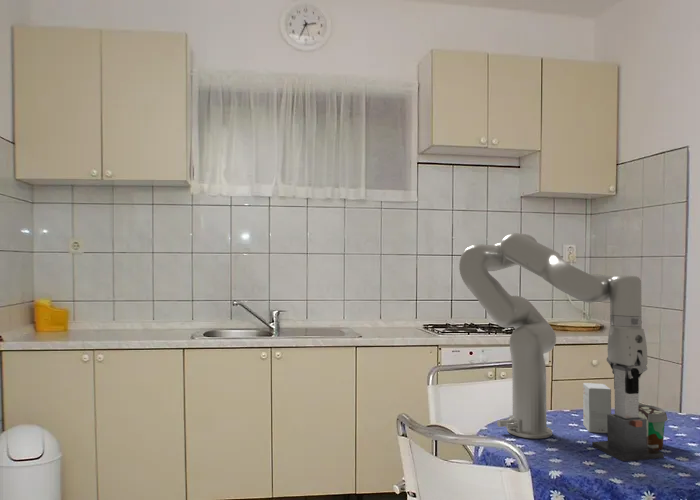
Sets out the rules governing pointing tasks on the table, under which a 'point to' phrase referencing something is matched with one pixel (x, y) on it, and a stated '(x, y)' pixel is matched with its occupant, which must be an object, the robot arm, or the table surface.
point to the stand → (627, 440)
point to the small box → (596, 407)
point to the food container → (653, 424)
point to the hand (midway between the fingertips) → (626, 390)
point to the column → (624, 395)
